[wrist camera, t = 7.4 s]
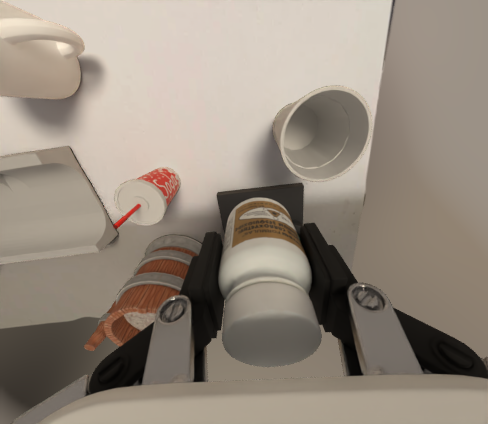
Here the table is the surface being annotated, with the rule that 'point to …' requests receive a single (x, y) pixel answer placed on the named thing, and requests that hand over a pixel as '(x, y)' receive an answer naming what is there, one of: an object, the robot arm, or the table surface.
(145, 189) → the beverage cup
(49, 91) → the mug
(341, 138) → the cup
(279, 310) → the pill bottle
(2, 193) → the grey desk tray
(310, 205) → the table surface
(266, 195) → the scale
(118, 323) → the mug
